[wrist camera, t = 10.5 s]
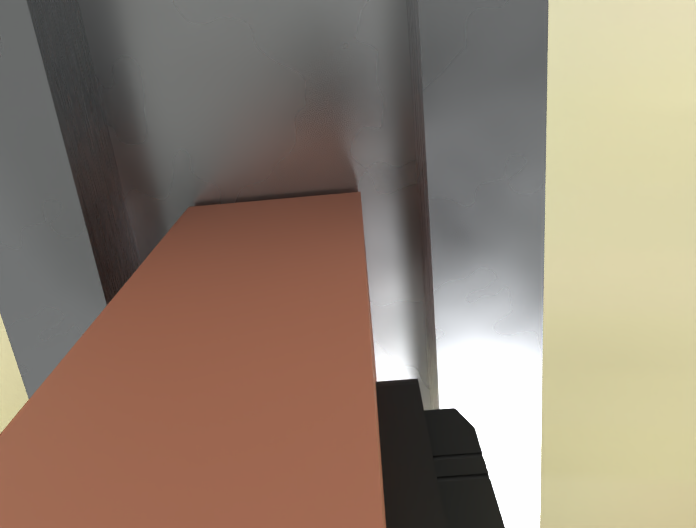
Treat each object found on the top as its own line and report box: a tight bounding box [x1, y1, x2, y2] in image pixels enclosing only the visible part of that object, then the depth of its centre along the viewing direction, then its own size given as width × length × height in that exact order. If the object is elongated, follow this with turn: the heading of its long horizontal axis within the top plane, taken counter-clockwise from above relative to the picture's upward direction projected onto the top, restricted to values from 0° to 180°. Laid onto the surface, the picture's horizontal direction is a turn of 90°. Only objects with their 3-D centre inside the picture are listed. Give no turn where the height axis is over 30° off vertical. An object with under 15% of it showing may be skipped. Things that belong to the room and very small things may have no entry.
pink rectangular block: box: [0, 192, 386, 528], centre depth 8 cm, size 4×5×11 cm
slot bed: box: [0, 0, 548, 528], centre depth 12 cm, size 10×16×3 cm, turn 6°
